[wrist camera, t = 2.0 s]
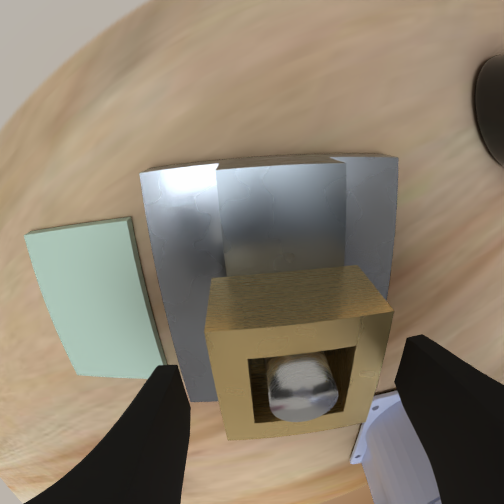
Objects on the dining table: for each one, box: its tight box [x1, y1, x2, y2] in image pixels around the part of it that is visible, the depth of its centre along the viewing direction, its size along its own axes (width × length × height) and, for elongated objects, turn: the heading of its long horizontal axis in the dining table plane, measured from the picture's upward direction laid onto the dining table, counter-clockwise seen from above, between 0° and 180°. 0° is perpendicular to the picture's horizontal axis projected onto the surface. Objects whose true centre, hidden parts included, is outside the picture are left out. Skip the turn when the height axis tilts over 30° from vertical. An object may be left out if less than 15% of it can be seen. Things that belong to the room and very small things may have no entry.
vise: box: [140, 153, 398, 422], centre depth 11 cm, size 12×10×7 cm
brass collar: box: [204, 265, 394, 441], centre depth 10 cm, size 5×5×3 cm
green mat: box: [24, 217, 167, 379], centre depth 14 cm, size 9×6×1 cm, turn 4°
